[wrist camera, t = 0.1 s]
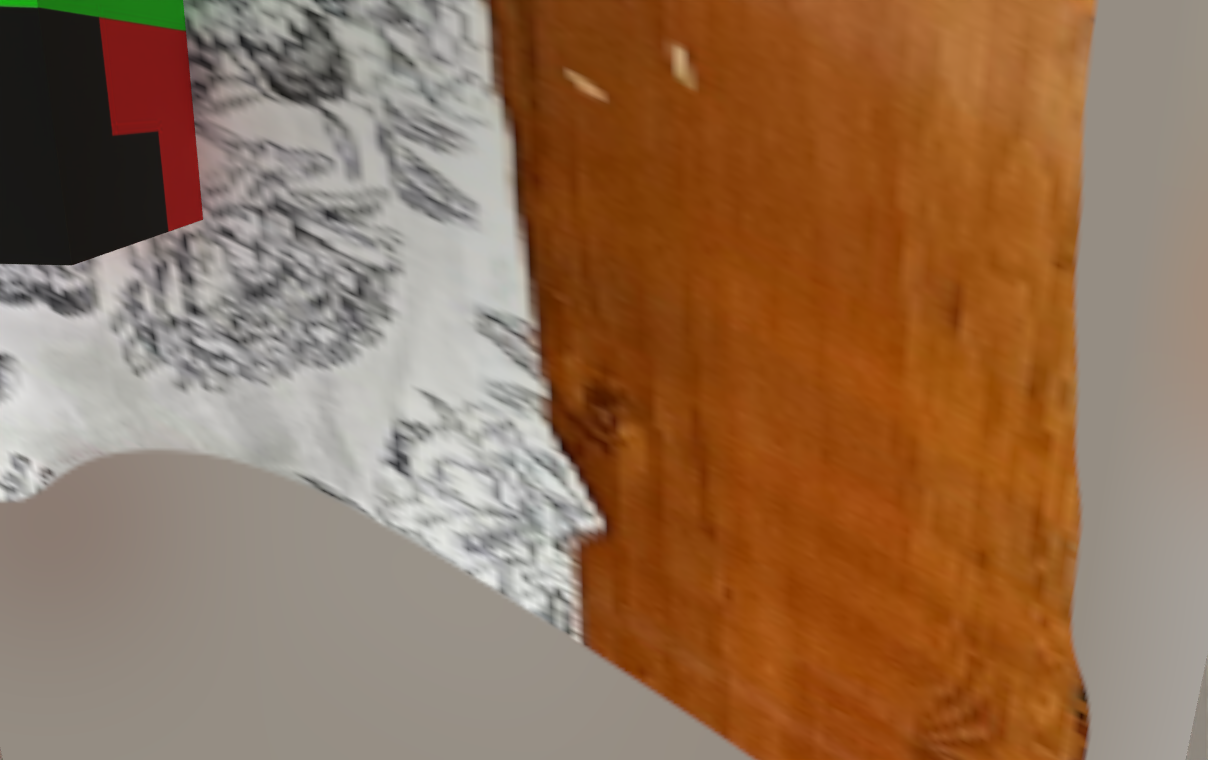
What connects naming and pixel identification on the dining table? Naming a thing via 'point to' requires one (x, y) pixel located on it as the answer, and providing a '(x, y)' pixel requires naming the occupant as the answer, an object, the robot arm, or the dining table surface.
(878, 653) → the dining table surface
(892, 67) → the dining table surface
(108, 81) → the puzzle toy
